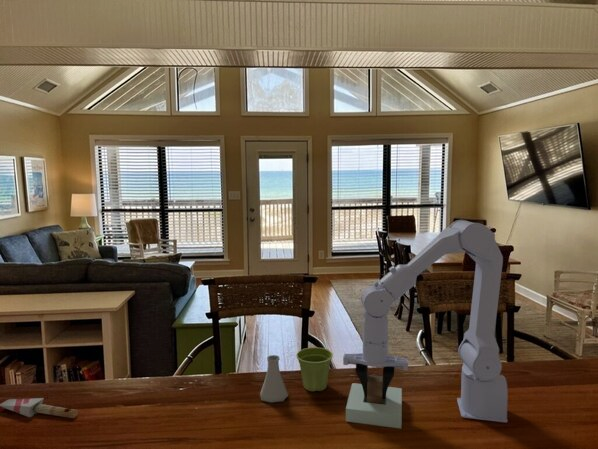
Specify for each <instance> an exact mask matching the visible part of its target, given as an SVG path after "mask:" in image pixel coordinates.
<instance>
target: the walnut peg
mask: <svg viewBox="0 0 598 449" xmlns="http://www.w3.org/2000/svg"><path fill="white" fill-rule="evenodd" d="M382 392H383V375H376V374H375V375H373V374H368V379H367V403H374V404H383V399H382Z"/></svg>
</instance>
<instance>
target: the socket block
mask: <svg viewBox="0 0 598 449" xmlns="http://www.w3.org/2000/svg"><path fill="white" fill-rule="evenodd" d="M350 386H351V387H350V390H349V394H348V398H347V402H346V407H345V422H348V423H355V424H356V423H357V424H362V425H371V426H377V427H378V426H379V427H386V428H393V429H402V422H403V420H402V418H403V417H402V416H403V415H402V414H403V413H402V412H403V410H402V406H403V403H402V402H403V398H402V397H403V394H402V393H403V388H401V387H393V386H388V389H387V392H386V397H385V399H383V404H374V403H367V397H364V391H363V387H362V384H361V383H357V382H355V383H353V382H352V384H351V385H350Z"/></svg>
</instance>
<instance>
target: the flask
mask: <svg viewBox="0 0 598 449" xmlns="http://www.w3.org/2000/svg"><path fill="white" fill-rule="evenodd" d="M266 360H267V362H268V363H267V370H266V374H265V378H264V382H263V384H262V387H261V390H260V392H259V398H260V400H261V401H263V402H267V403H271V404H272V403H279V402H280V403H281V402H284V401H285V399H286V400H287V398H288V396H289V393H288V391H287V389H286V386H285V383H284V380H283V378H282V374H281V371H280V370H281V369H280V365H279V361H280V356H279V355H275V354H270V355H268V356H267V357H266Z"/></svg>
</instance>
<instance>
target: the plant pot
mask: <svg viewBox="0 0 598 449" xmlns="http://www.w3.org/2000/svg"><path fill="white" fill-rule="evenodd" d="M333 355H334V353H333V352H332V351H330V350H329V349H327V348H323V347H316V346H315V347H314V346H313V347H307V348H302V349H301V350H299V351H298V352H296V358H297V361H298V364H299V369H300V372H301V378H302V379H301V380H302V385H303V388H304V389H305V390H307V391H309V392H316V391H318V392H321V391H324V390H325V389H326V388H327V387H328V380H329V370H330V364H331V362H332V361H331V360H332V359H333Z"/></svg>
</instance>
